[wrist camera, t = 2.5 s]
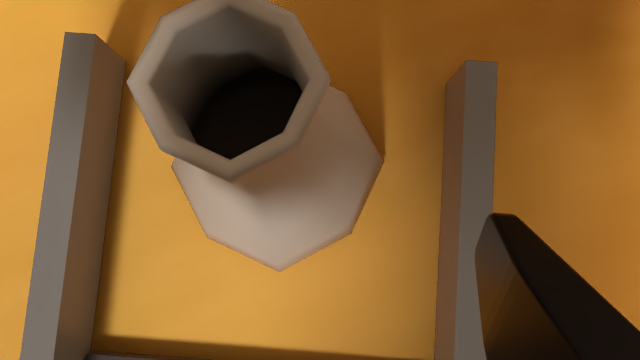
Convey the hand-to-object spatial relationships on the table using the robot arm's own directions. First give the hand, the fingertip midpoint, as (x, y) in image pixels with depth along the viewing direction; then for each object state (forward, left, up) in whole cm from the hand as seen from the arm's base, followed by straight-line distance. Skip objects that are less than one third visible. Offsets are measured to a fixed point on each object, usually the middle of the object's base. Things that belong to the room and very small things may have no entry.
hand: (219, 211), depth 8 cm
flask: (+1, -2, -10) cm, 10 cm away
